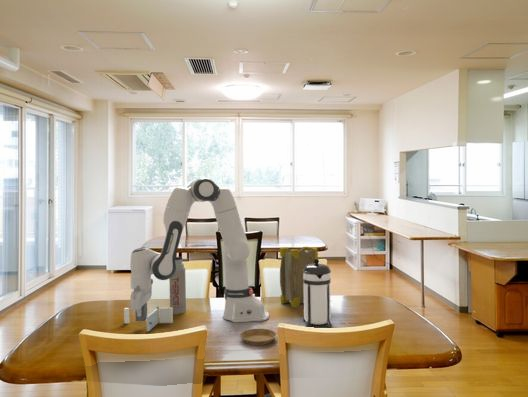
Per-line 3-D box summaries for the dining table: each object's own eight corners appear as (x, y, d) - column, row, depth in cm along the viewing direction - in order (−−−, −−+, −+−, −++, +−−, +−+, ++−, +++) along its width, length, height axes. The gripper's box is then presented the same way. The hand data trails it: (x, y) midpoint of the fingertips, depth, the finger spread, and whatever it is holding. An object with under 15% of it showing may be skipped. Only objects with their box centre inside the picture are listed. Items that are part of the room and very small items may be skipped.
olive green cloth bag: (307, 297, 241) (306, 244, 240) (320, 301, 232) (319, 246, 231) (278, 303, 230) (277, 248, 229) (291, 308, 220) (290, 250, 220)
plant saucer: (273, 348, 166) (273, 341, 166) (236, 346, 169) (236, 340, 169) (278, 335, 181) (278, 329, 181) (244, 333, 183) (244, 327, 183)
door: (156, 322, 199) (156, 308, 199) (160, 322, 199) (159, 308, 199) (146, 331, 187) (146, 316, 187) (150, 331, 187) (150, 316, 187)
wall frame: (172, 322, 200) (172, 306, 200) (172, 322, 199) (171, 307, 199) (125, 322, 200) (124, 306, 200) (124, 323, 199) (124, 307, 199)
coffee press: (341, 323, 195) (341, 258, 194) (320, 331, 184) (319, 262, 183) (312, 315, 207) (311, 254, 207) (290, 323, 196) (289, 258, 195)
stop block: (147, 318, 194) (146, 303, 194) (144, 321, 190) (144, 305, 190) (138, 318, 194) (138, 303, 194) (135, 321, 190) (135, 305, 190)
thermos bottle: (180, 314, 211) (179, 258, 210) (166, 313, 214) (165, 258, 213) (189, 310, 219) (187, 256, 218) (175, 309, 222) (174, 255, 221)
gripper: (140, 289, 181) (141, 321, 181) (154, 278, 201) (154, 307, 202) (126, 289, 181) (126, 321, 181) (140, 279, 201) (141, 307, 202)
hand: (141, 314), depth 192 cm, fingers closed on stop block, 4 cm apart
